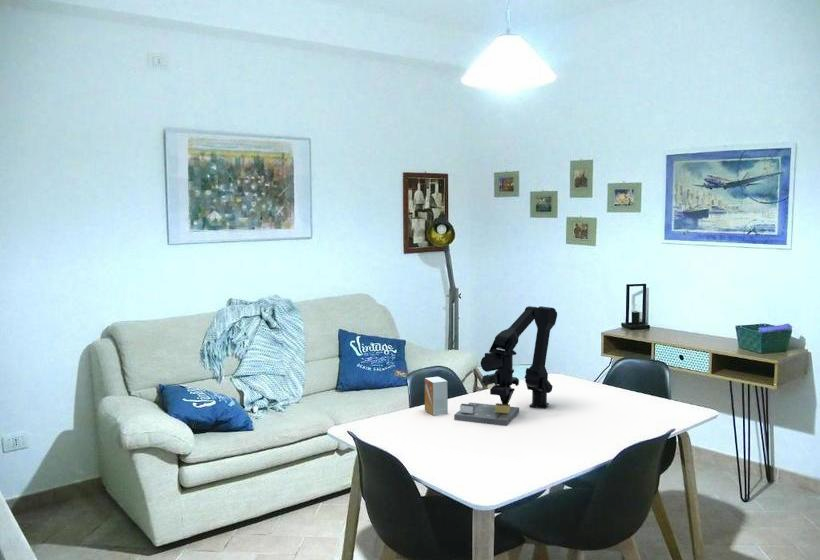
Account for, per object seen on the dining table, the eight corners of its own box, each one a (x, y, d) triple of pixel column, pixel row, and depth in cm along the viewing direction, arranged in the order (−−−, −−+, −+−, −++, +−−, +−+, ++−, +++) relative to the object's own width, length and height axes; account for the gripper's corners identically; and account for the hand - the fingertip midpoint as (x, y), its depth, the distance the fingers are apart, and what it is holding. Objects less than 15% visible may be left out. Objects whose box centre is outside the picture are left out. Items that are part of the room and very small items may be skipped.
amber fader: (497, 410, 273) (497, 402, 273) (510, 411, 271) (510, 403, 271) (494, 412, 271) (494, 404, 270) (507, 413, 269) (507, 405, 268)
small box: (424, 410, 283) (424, 377, 281) (439, 408, 285) (438, 376, 284) (433, 416, 275) (432, 382, 274) (448, 414, 278) (447, 380, 276)
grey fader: (462, 410, 274) (462, 402, 273) (475, 411, 272) (475, 404, 271) (460, 412, 271) (460, 404, 271) (472, 413, 269) (472, 406, 269)
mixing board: (469, 407, 286) (469, 402, 286) (519, 412, 278) (519, 407, 278) (454, 419, 270) (454, 414, 269) (506, 425, 262) (506, 420, 262)
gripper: (491, 361, 284) (491, 399, 286) (476, 371, 267) (476, 412, 269) (519, 363, 280) (519, 402, 281) (506, 373, 263) (505, 415, 264)
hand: (504, 408), depth 274 cm, fingers closed
